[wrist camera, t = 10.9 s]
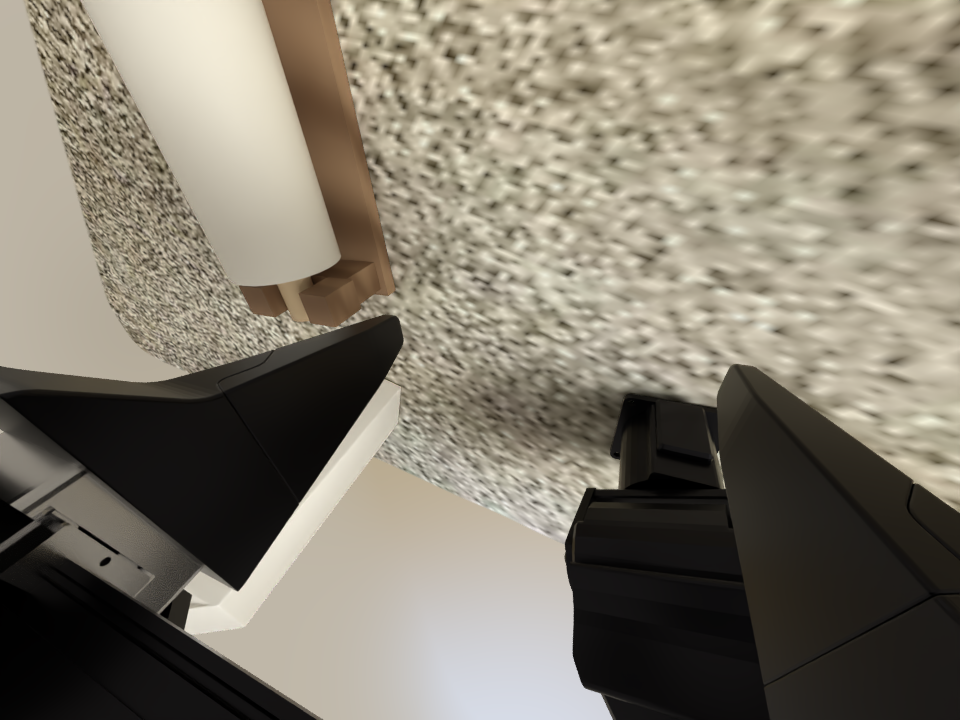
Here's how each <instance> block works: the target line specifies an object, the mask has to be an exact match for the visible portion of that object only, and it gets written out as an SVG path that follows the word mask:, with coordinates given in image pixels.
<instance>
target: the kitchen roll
mask: <svg viewBox="0 0 960 720" xmlns="http://www.w3.org/2000/svg"><path fill="white" fill-rule="evenodd" d="M81 2H82V4H83V6H84V8H85V10H86V12H87V13H88V15H89V17H90V19H91V21H92V23H93V25H94V27H95V29H96V30H97V32H98V34H99V36H100V38H101V40H102V42H103V44H104V45H105V47H106V49H107V51H108V53H109V55H110V57H111V59H112V60H113V62H114V64H115V66H116V68H117V70H118V72H119V74H120V76H121V77H122V79H123V81H124V83H125V85H126V87H127V89H128V91H129V92H130V94H131V96H132V98H133V100H134V102H135V104H136V106H137V107H138V109H139V111H140V113H141V115H142V117H143V119H144V121H145V123H146V124H147V126H148V128H149V130H150V132H151V134H152V136H153V138H154V139H155V141H156V143H157V145H158V147H159V149H160V151H161V153H162V154H163V156H164V158H165V160H166V162H167V164H168V166H169V168H170V170H171V171H172V173H173V175H174V177H175V179H176V181H177V183H178V185H179V186H180V188H181V190H182V192H183V194H184V196H185V198H186V200H187V201H188V203H189V205H190V207H191V209H192V211H193V213H194V215H195V217H196V218H197V220H198V222H199V224H200V226H201V228H202V230H203V232H204V233H205V235H206V237H207V239H208V241H209V243H210V245H211V247H212V248H213V250H214V252H215V254H216V256H217V258H218V260H219V262H220V264H221V265H222V267H223V269H224V271H225V273H226V275H227V277H228V279H229V280H230V281H231V282H232V283H234V284H237V285H241V286H267V285H275V284H277V286H278V288H279V290H280V292H281V295H282V297H283V299H284V301H285V303H286V306H287V308H288V310H289V312H290V315H291V317H292V319H293V320H294V321H296V322H305V321H309V318H308V316H307V313H306V311H305V308H304V306H303V304H302V301H301V299H300V296H299V293H300V292H302V291H304V290H306V289H307V288H309V287H311V286H313V282H312V279H311V277H310V276H312V275H315V274H317V273H320V272H322V271H324V270H326V269H328V268H330V267H332V266H333V265H335V264H336V263H337V262H338V261H339V260H340V258H341V254H340V251H339V247H338V244H337V241H336V238H335V235H334V231H333V228H332V225H331V222H330V218H329V215H328V212H327V209H326V206H325V202H324V199H323V196H322V193H321V190H320V186H319V183H318V180H317V177H316V173H315V170H314V167H313V164H312V161H311V157H310V154H309V151H308V148H307V144H306V141H305V138H304V135H303V132H302V128H301V125H300V122H299V119H298V115H297V112H296V109H295V106H294V103H293V99H292V96H291V93H290V90H289V87H288V83H287V80H286V77H285V74H284V70H283V67H282V64H281V61H280V58H279V54H278V51H277V48H276V45H275V41H274V38H273V35H272V32H271V29H270V25H269V22H268V19H267V16H266V12H265V9H264V6H263V3H262V0H81Z"/></svg>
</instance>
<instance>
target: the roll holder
mask: <svg viewBox="0 0 960 720" xmlns="http://www.w3.org/2000/svg"><path fill="white" fill-rule="evenodd" d="M262 3H263V6H264V9H265V12H266V16H267V19H268V22H269V25H270V29H271V32H272V35H273V38H274V41H275V45H276V48H277V51H278V54H279V58H280V61H281V64H282V67H283V70H284V74H285V77H286V80H287V83H288V87H289V90H290V93H291V96H292V99H293V103H294V106H295V109H296V112H297V115H298V119H299V122H300V125H301V128H302V132H303V135H304V138H305V141H306V144H307V148H308V151H309V154H310V157H311V161H312V164H313V167H314V170H315V173H316V177H317V180H318V183H319V186H320V190H321V193H322V196H323V199H324V202H325V206H326V209H327V212H328V215H329V218H330V222H331V225H332V228H333V231H334V235H335V238H336V241H337V244H338V247H339V251H340V254H341V258H340V260H339V261H338V262H337V263H336V264H335V265H333V266H332V267H330V268H328V269H326V270H324V271H322V272H320V273H317V274H315V275H312V276H310V277H311V279H312V282H313V286H311V287H309V288H307V289H306V290H304V291H302V292H300V293H299V296H300V299H301V301H302V304H303V306H304V308H305V311H306V313H307V316H308V318H309V321H310V323H313V324H319V325H325V326H331V327H337V326H338V325H340V324H341V323H343V322H344V321H345V320H347V319H348V318H349V317H351V316H352V315H353V314H355V313H356V312H357V311H359V310H360V309H361V305H360V304H361V303H362V302H364V301H365V300H366V299H368V298H369V297H371V296H372V295H373V294H377V295H385V296H389V295H390V294H391V293H393V292H394V291H395V285H394V281H393V276H392V272H391V268H390V263H389V259H388V254H387V250H386V245H385V241H384V237H383V232H382V228H381V223H380V219H379V215H378V210H377V206H376V201H375V197H374V193H373V188H372V184H371V179H370V175H369V171H368V166H367V162H366V157H365V153H364V149H363V144H362V140H361V135H360V131H359V127H358V122H357V118H356V113H355V109H354V104H353V100H352V96H351V91H350V87H349V82H348V78H347V74H346V69H345V65H344V60H343V56H342V52H341V47H340V43H339V38H338V34H337V30H336V25H335V21H334V16H333V12H332V8H331V3H330V0H262ZM239 287H240V289H241V291H242V293H243V295H244V297H245V299H246V301H247V303H248V305H249V307H250V309H251V311H252V312H253V314H258V315H264V316H270V317H276V316H278V315H280V314H281V313H283V312H285V311H286V310H288V308H287V306H286V303H285V301H284V299H283V297H282V295H281V292H280V290H279V288H278V286H277V284H275V285H267V286H241V285H239Z"/></svg>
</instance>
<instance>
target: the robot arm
mask: <svg viewBox="0 0 960 720" xmlns="http://www.w3.org/2000/svg"><path fill="white" fill-rule="evenodd" d="M403 341H404V339H403V334H402V329H401V325H400V321H399V319H398V317H396V316H393V315H381V316H378V317H375V318H372V319H369V320H366V321H363V322H359V323H356V324H353V325H350V326H347V327H344V328H340V329H337V330H334V331H331V332H328V333H325V334H322V335H318V336H315V337H312V338H309V339H306V340H303V341H300V342H296V343H293V344H290V345H287V346H284V347H281V348H278V349H276V350H271V351H268V352H265V353H262V354H258V355H255V356H252V357H249V358H245V359H242V360H239V361H235V362H232V363H228V364H225V365H221V366H217V367H214V368H210V369H206V370H203V371H199V372H195V373H192V374H188V375H185V376H181V377H177V378H174V379H169V380H165V381H158V382H147V383H142V382H141V383H140V382H127V381H118V380H109V379H100V378H91V377H82V376H73V375H64V374H54V373H46V372H37V371H29V370H21V369H14V368H7V367H2V366H0V429H1V430H2V431H4V432H3V433H1V434H0V720H323V719H321V718H320V717H318V716H316V715H315V714H313V713H311V712H310V711H309V710H307V709H305V708H304V707H302V706H301V705H299V704H298V703H296V702H295V701H293V700H292V699H290V698H288V697H287V696H285V695H284V694H282V693H281V692H279V691H278V690H276V689H275V688H273V687H271V686H270V685H268V684H266V683H265V682H264V681H262V680H261V679H259V678H257V677H256V676H254V675H253V674H251V673H250V672H248V671H247V670H245V669H243V668H242V667H240V666H239V665H237V664H236V663H234V662H233V661H231V660H229V659H228V658H226V657H225V656H223V655H222V654H220V653H218V652H217V651H215V650H214V649H212V648H210V647H209V646H208V645H206V644H205V643H203V642H201V641H200V640H198V639H197V638H195V637H194V636H192V635H191V634H189V633H187V632H186V631H184V629H185V625H186V620H187V616H188V611H189V607H190V602H191V598H192V595H191V594H190V593H189V592H187V591H186V590H184V588H185V587H186V586H187V585H188V584H189V583H190V582H191V580H192V579H193V578H194V577H195V576H196V575H197V574H198V573H199V572H202V573H204V574H206V575H208V576H210V577H211V578H213V579H215V580H217V581H219V582H221V583H222V584H224V585H226V586H228V587H230V588H232V589H233V590H235V591H237V592H238V591H239V590H240V589H241V588H242V587H243V586H244V584H245V583H246V582H247V580H248V579H249V577H250V576H251V574H252V573H253V571H254V570H255V568H256V567H257V566H258V564H259V563H260V561H261V560H262V558H263V557H264V555H265V554H266V552H267V551H268V549H269V548H270V547H271V545H272V544H273V542H274V541H275V539H276V538H277V536H278V535H279V533H280V532H281V530H282V529H283V528H284V526H285V525H286V523H287V522H288V520H289V519H290V517H291V516H292V514H293V513H294V511H295V510H296V509H297V507H298V506H299V503H300V502H301V501H302V499H303V498H304V496H305V495H306V494H307V492H308V491H309V489H310V488H311V486H312V485H313V483H314V482H315V480H316V479H317V478H318V476H319V475H320V473H321V472H322V470H323V469H324V467H325V466H326V464H327V463H328V461H329V460H330V459H331V457H332V456H333V454H334V453H335V451H336V450H337V448H338V447H339V445H340V444H341V442H342V441H343V440H344V438H345V437H346V435H347V434H348V432H349V431H350V429H351V428H352V426H353V425H354V424H355V422H356V421H357V419H358V418H359V416H360V415H361V413H362V412H363V410H364V409H365V407H366V406H367V405H368V403H369V402H370V400H371V399H372V397H373V396H374V394H375V393H376V391H377V390H378V388H379V387H380V385H381V384H382V382H383V381H384V379H385V377H386V375H387V374H388V372H389V370H390V368H391V366H392V364H393V362H394V361H395V359H396V357H397V355H398V353H399V351H400V349H401V348H402V345H403ZM629 401H634V402H629ZM718 451H719V454H720V461H721V467H722V472H723V477H724V482H725V487H726V489H724V485H723V480H722V475H721V471H720V466H719V461H718V457H717V453H718ZM616 452H618V453H616ZM610 455H611V456H612V457H613V458H615V459H619V460H620V470H619V487H618V489H596V488H587V489H586V491H585V493H584V496H583V498H582V501H581V503H580V506H579V508H578V511H577V513H576V516H575V518H574V521H573V523H572V525H571V528H570V531H569V534H568V536H567V539H566V541H565V550H566V552H565V562H566V566H567V574H568V579H569V583H570V586H571V589H572V591H573V603H574V628H573V658H574V662H575V665H576V668H577V671H578V674H579V677H580V680H581V683H582V685H583V686H584V688H586V689H588V690H592V691H595V692H598V693H601V695H602V697H603V699H604V701H605V703H606V705H607V708H608V710H609V712H610V714H611V716H612V718H613V720H960V513H959V512H957V511H956V510H955V509H953V508H952V507H950V506H949V505H947V504H946V503H944V502H943V501H942V500H940V499H939V498H938V497H936V496H935V495H933V494H932V493H931V492H929V491H928V490H926V489H925V488H924V487H922V486H921V485H919V484H916V483H915V484H913V480H912V479H911V478H910V477H908V476H907V475H905V474H904V473H903V472H901V471H900V470H898V469H897V468H896V467H894V466H893V465H891V464H890V463H889V462H887V461H886V460H884V459H883V458H882V457H880V456H879V455H877V454H876V453H875V452H873V451H872V450H870V449H869V448H868V447H866V446H865V445H863V444H862V443H861V442H859V441H858V440H856V439H855V438H854V437H852V436H851V435H849V434H848V433H847V432H845V431H844V430H842V429H841V428H840V427H838V426H837V425H835V424H834V423H833V422H831V421H830V420H828V419H827V418H826V417H824V416H823V415H822V414H820V413H819V412H817V411H816V410H815V409H813V408H812V407H810V406H809V405H808V404H806V403H805V402H803V401H802V400H801V399H799V398H798V397H796V396H795V395H794V394H792V393H791V392H789V391H788V390H787V389H785V388H784V387H782V386H781V385H780V384H778V383H777V382H775V381H774V380H773V379H771V378H770V377H768V376H767V375H766V374H764V373H763V372H761V371H760V370H759V369H757V368H756V367H753V366H748V365H741V364H733V365H732V366H731V367H730V368H729V370H728V372H727V374H726V376H725V378H724V380H723V382H722V384H721V387H720V389H719V391H718V395H717V409H712V408H707V407H701V406H696V405H690V404H685V403H679V402H674V401H668V400H663V399H657V398H652V397H646V396H641V395H635V394H628V395H626V396H624V398H623V402H622V406H621V410H620V414H619V418H618V422H617V426H616V430H615V433H614V437H613V441H612V445H611V449H610Z"/></svg>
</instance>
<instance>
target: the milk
mask: <svg viewBox="0 0 960 720" xmlns="http://www.w3.org/2000/svg"><path fill="white" fill-rule="evenodd" d="M400 396H401V386H399V385H397V384H394V383H392V382H390V381H388V380H386V379H384V381H383V382H382V384H381V385H380V387H379V388H378V390H377V391H376V393H375V394H374V396H373V397H372V399H371V400H370V402H369V403H368V405H367V406H366V407H365V409H364V410H363V412H362V413H361V415H360V416H359V418H358V419H357V421H356V422H355V424H354V425H353V426H352V428H351V429H350V431H349V432H348V434H347V435H346V437H345V438H344V440H343V441H342V442H341V444H340V445H339V447H338V448H337V450H336V451H335V453H334V454H333V456H332V457H331V459H330V460H329V461H328V463H327V464H326V466H325V467H324V469H323V470H322V472H321V473H320V475H319V476H318V478H317V479H316V480H315V482H314V483H313V485H312V486H311V488H310V489H309V491H308V492H307V494H306V495H305V496H304V498H303V499H302V501H301V502H300V503H299V506H298V507H297V509H296V510H295V511H294V513H293V514H292V516H291V517H290V519H289V520H288V522H287V523H286V525H285V526H284V528H283V529H282V530H281V532H280V533H279V535H278V536H277V538H276V539H275V541H274V542H273V544H272V545H271V547H270V548H269V549H268V551H267V552H266V554H265V555H264V557H263V558H262V560H261V561H260V563H259V564H258V566H257V567H256V568H255V570H254V571H253V573H252V574H251V576H250V577H249V579H248V580H247V582H246V583H245V584H244V586H243V587H242V588H241V589H240V590H239V591H238V592H237V591H235V590H233V589H232V588H230V587H228V586H226V585H224V584H222V583H221V582H219V581H217V580H215V579H213V578H211V577H210V576H208V575H206V574H204V573H202V572H199V573H198V574H197V575H196V576H195V577H194V578H193V579H192V580H191V582H190V583H189V584H188V585H187V586H186V587H185V588H184V590H186V591H187V592H189V593H190V594H191V595H192V598H191V602H190V607H189V611H188V616H187V620H186V625H185V629H184V631H186V632H187V633H189V634H191V635H195V634H201V633H209V632H216V631H223V630H231V629H238V628H244V627H245V626H246V625H247V623H248V622H249V621H250V620H251V618H252V617H253V616H254V614H255V613H256V612H257V610H258V609H259V607H260V606H261V605H262V603H263V602H264V601H265V600H266V598H267V597H268V596H269V594H270V593H271V592H272V590H273V589H274V587H275V586H276V585H277V584H278V582H279V581H280V580H281V578H282V577H283V576H284V574H285V573H286V572H287V570H288V569H289V568H290V566H291V565H292V564H293V562H294V561H295V560H296V558H297V557H298V556H299V554H300V553H301V552H302V550H303V549H304V548H305V546H306V545H307V544H308V542H309V541H310V540H311V538H312V537H313V536H314V534H315V533H316V532H317V530H318V529H319V528H320V526H321V525H322V524H323V522H324V521H325V520H326V518H327V517H328V516H329V515H330V513H331V512H332V510H333V509H334V508H335V506H336V505H337V504H338V503H339V501H340V500H341V499H342V497H343V496H344V495H345V493H346V492H347V490H348V489H349V488H350V486H351V485H352V484H353V483H354V481H355V480H356V479H357V477H358V476H359V475H360V473H361V472H362V471H363V469H364V468H365V467H366V465H367V464H368V463H369V461H370V460H371V458H372V457H373V456H374V455H375V453H376V452H377V451H378V449H379V448H380V447H381V445H382V444H383V443H384V441H385V440H386V439H387V437H388V436H389V435H390V433H391V432H392V431H393V429H394V428H395V427H396V425H397V424H398V416H399V406H400Z"/></svg>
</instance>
